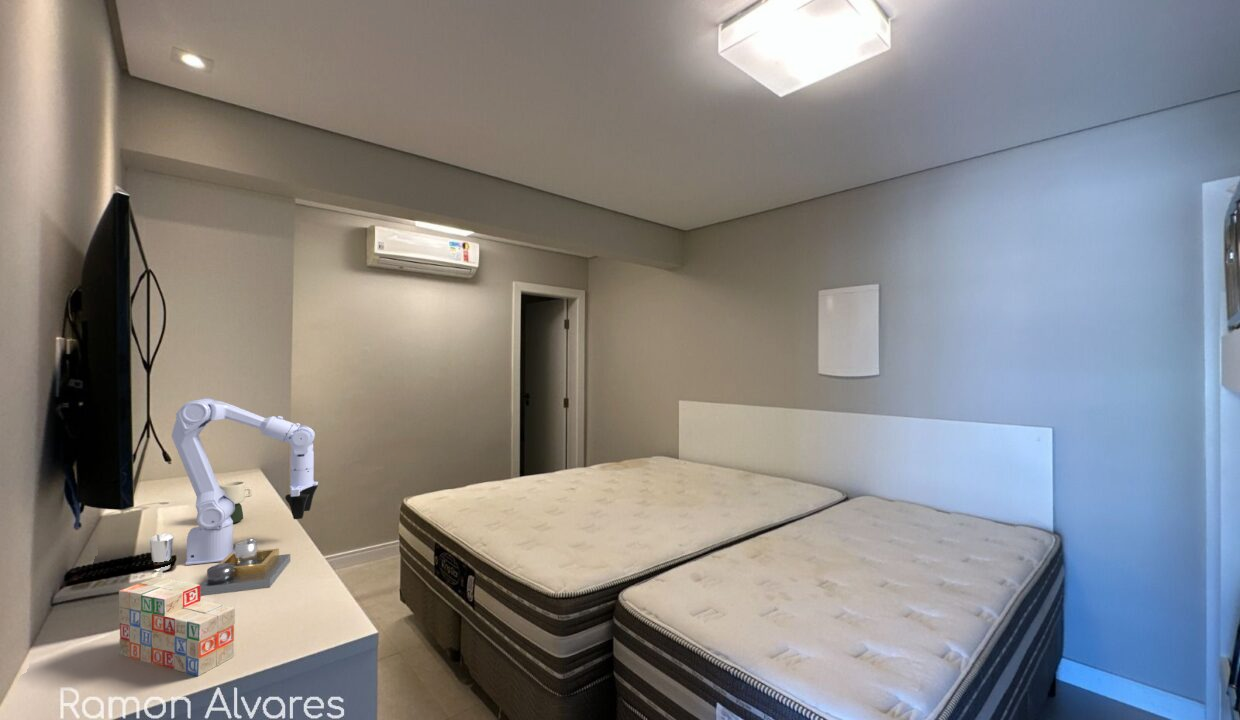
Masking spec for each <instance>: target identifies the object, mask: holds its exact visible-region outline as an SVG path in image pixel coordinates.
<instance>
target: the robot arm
mask: <svg viewBox="0 0 1240 720" xmlns="http://www.w3.org/2000/svg"><path fill="white" fill-rule="evenodd" d="M175 416H176V417H175V418H176V419H175V422H174V426H173V428H172V433H171V439H172V441H173V444H174V446H175V448H176V450H177V452H178V455H179V458H180V461H181V462H182V465H183V467H184V470H185V472H186V474H187V477H188V478H189V481H190V484H191V487H192V489H193V491H194V493H195V496H196V501H195V508H196V511H197V515H196V523H197V524H198V525H199V526H195V527H191V529H189V531H188V533H187V537H186V561H185V566H188V565H189V566H191V565H198V564H199V565H200V564H208V563H209V564H211V563H220V562H221V561H222V560H223V559H224V558H225V557H227V556H228V555H229V554H230V553H235V548H234V523H233V520H232V519H231V517H230V516H231V515H232V514H233V512H234V510H235V504H234V502H233V501H232V500H231V499H230V498H228V497H227V495H226V493H225V491H224V490H222V489H221V488H220V487H219V485H220V484H219V482H218V479H217V477H216V474H215V472H214V470H213V467H212V465H211V463H210V460H209V458H208V455H207V453H206V451H205V448H204V446H203V443H202V441H201V438H200V434H201V432H202V431H203V430H204V428H205V427H206V426H207V424H209V423H210V422H211V421H219V420H220V421H221V420H230V421H234V422H236V423H240V424H243V425H246V426H250V427H253V428H256V429H259V430H260V433H261V435H262V436H266V437H269V438H271V439H274V440H277V441H280V442H283V443H289V446H291V449H290V450H291V452H290V483H289V489H290V494H288V493H287V494H286V495H285V497H284V498H285V500H286V502H287V503H288V505H289V508H290V510H291V514H292V518H293V520H302V519H303V518H304V515H305V512H310V510H311V507H312V503H313V498H314V495H315V493H316V491H317V489H318V484H319V481H315V480H314V475H315V474H314V473H315V472H314V471H315V469H314V468H315V467H314V466H315V464H314V463H315V456H314V455H315V452H314V443H313V442H314V441H315V438H316V433H315V430H313V429H312V428H311V427H310V426H308V425H301V423H299V422H296V423H294V422H291V421H288V420H286V419H284V416H282V415H278V416H277V417H276V415H274V416H273V415H272V416H269V417H263V416H261V415H259V414H256V413H253V412H250V411H248V410H246V409H243V408H241V407H238V406H236V405H234V404H230V403H228V402H225V401H221V400H215V399H213V398H210V397H203V398H200V399H197V400H196V399H194V400H190V401H187V402H186V403H184V404H183V405H182V406H181V407H180V408H179V410H178V411H177V412H176V413H175Z"/></svg>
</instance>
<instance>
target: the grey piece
mask: <svg viewBox="0 0 1240 720" xmlns="http://www.w3.org/2000/svg"><path fill="white" fill-rule="evenodd" d="M290 562H291V553H287V554H280V547H279V548H270V549H260V550H258V549H257V564H253V565H243V566H235V553H230V554H229V555H228V556H227V557H225V558H224V559H223V560H222V561H220V562H218V563H217V564H216V565H213V566H210V567H208V568H207V570H206V580H205V581H204V582H203V584H200V596H202V597H203V596H208V595H209V596H210V595H217V594H218V595H219V594H225V593H233V592H241V591H242V592H243V591H251V590H257V589H267V588H271V587H272V585H273V584H274V583H275V581H276V580H277V579H278V578H279V577H280V576H281V574H282V572H283V571H284V570H285V569H286V568H287V567H288V565H289V563H290Z"/></svg>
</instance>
